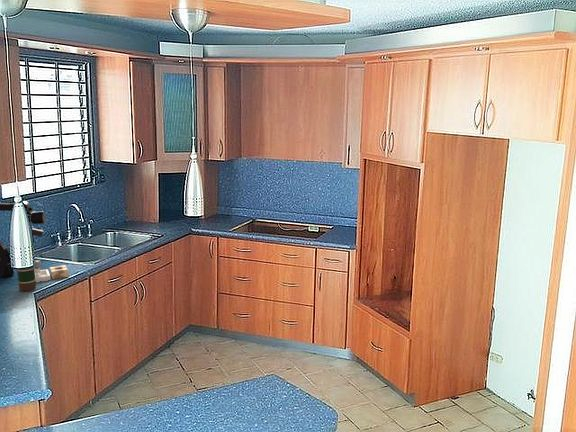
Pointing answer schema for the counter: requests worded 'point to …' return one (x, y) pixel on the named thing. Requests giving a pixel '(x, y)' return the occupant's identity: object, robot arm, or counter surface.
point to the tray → (43, 276)
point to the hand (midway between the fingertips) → (28, 253)
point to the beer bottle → (26, 279)
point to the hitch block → (59, 271)
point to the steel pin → (37, 268)
